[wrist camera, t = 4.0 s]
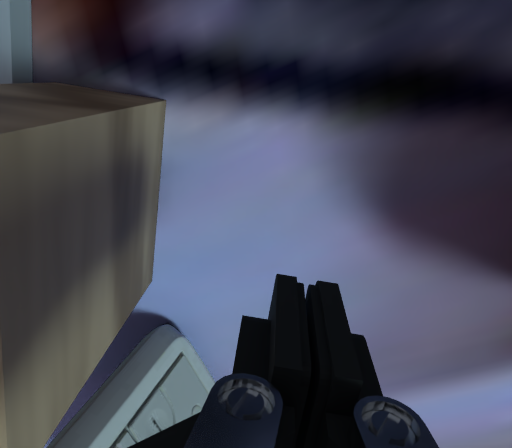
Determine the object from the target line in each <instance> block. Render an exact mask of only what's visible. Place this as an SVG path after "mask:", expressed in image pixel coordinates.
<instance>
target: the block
mask: <svg viewBox="0 0 512 448" xmlns="http://www.w3.org/2000/svg"><path fill="white" fill-rule="evenodd" d="M165 109H166V100H161V99H155V98H149V97H143V96H136V95H130V94H124V93H118V92H112V91H106V90H99V89H93V88H87V87H81V86H75V85H69V84H62V83H56V82H50V83H12V84H0V448H43V447H44V446H45V444H46V443H47V441H48V439H49V438H50V436H51V435H52V433H53V432H54V430H55V429H56V427H57V426H58V424H59V423H60V421H61V420H62V418H63V416H64V415H65V413H66V412H67V410H68V409H69V407H70V406H71V404H72V403H73V401H74V400H75V398H76V397H77V395H78V393H79V392H80V390H81V389H82V387H83V386H84V384H85V383H86V381H87V380H88V378H89V377H90V375H91V374H92V372H93V370H94V369H95V367H96V366H97V364H98V363H99V361H100V360H101V358H102V357H103V355H104V354H105V352H106V351H107V349H108V347H109V346H110V344H111V343H112V341H113V340H114V338H115V337H116V335H117V334H118V332H119V331H120V329H121V328H122V326H123V324H124V323H125V321H126V320H127V318H128V317H129V315H130V314H131V312H132V311H133V309H134V308H135V306H136V305H137V303H138V301H139V300H140V298H141V297H142V295H143V294H144V292H145V291H146V289H147V288H148V286H149V285H150V283H151V282H152V274H153V262H154V249H155V236H156V224H157V211H158V198H159V185H160V173H161V160H162V147H163V134H164V122H165Z"/></svg>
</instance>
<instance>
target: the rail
mask: <svg viewBox="0 0 512 448" xmlns="http://www.w3.org/2000/svg"><path fill="white" fill-rule="evenodd" d="M12 83H33V72H32V26H31V0H0V84H12Z"/></svg>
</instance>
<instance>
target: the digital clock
mask: <svg viewBox="0 0 512 448" xmlns="http://www.w3.org/2000/svg"><path fill="white" fill-rule="evenodd" d="M214 384H215V381H214V380H213V378H212V376H211V375H210V373H209V371H208V370H207V368H206V367H205V365H204V363H203V362H202V360H201V359H200V357H199V355H198V354H197V352H196V351H195V349H194V348H193V346H192V345H191V343H190V342H189V341H188V340H187V339H186V338H185V337H184V336H183V335H182V334H181V333H180V332H179V331H178V330H176V329H175V328H174V327H173V326H171V325H169V324H167V325H162V326H159V327H157V328H155V329H154V330H153V331H151V332H150V333H149V334H147V335H146V336H145V337H144V338H143V339H142V340H141V342H140V343H139V344H138V345H137V346H136V347H135V348H134V349H133V351H132V352H131V353H130V354H129V355H128V356H127V357H126V358H125V360H124V361H123V362H122V363H121V364H120V365H119V366H118V368H117V369H116V370H115V371H114V372H113V373H112V374H111V375H110V377H109V378H108V379H107V380H106V381H105V382H104V383H103V384H102V386H101V387H100V388H99V389H98V390H97V391H96V392H95V393H94V395H93V396H92V397H91V398H90V399H89V400H88V401H87V402H86V404H85V405H84V406H83V407H82V408H81V409H80V410H79V411H78V413H77V414H76V415H75V416H74V417H73V418H72V419H71V420H70V422H69V423H68V424H67V425H66V426H65V427H64V428H63V429H62V431H61V432H60V433H59V434H58V435H57V436H56V437H55V439H54V440H53V441H52V442H51V443H50V444H49V445H48V446H47V448H127V447H129V446H131V445H134V444H136V443H138V442H140V441H142V440H144V439H146V438H148V437H150V436H152V435H154V434H156V433H158V432H160V431H162V430H164V429H166V428H168V427H170V426H172V425H174V424H176V423H178V422H181V421H183V420H185V419H187V418H189V417H191V416H193V415H195V414H197V413H199V412H201V410H202V407H203V405H204V403H205V401H206V399H207V397H208V395H209V392H210V390H211V388H212V387H213V385H214Z"/></svg>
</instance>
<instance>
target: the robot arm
mask: <svg viewBox="0 0 512 448" xmlns="http://www.w3.org/2000/svg"><path fill="white" fill-rule="evenodd" d="M127 448H439V447H438V445H437V443H436V442H435V440H434V438H433V437H432V435H431V433H430V431H429V430H428V428H427V426H426V425H425V423H424V422H423V420H422V419H421V418H420V417H419V415H418V414H416V413H415V412H414V411H413V410H412V409H411V408H409V407H408V406H406V405H404V404H403V403H401V402H399V401H396V400H394V399H391V398H388V397H383V394H382V391H381V388H380V385H379V381H378V378H377V375H376V372H375V369H374V365H373V362H372V359H371V356H370V353H369V349H368V346H367V343H366V340H365V338H364V336H363V335H358V334H352V333H351V332H350V328H349V324H348V320H347V317H346V313H345V309H344V305H343V301H342V297H341V294H340V290H339V286H338V284H336V283H330V282H323V281H317V282H316V285H309V286H308V289H307V294H306V298H305V293H304V284H303V283H297V277H293V276H287V275H281V274H277V275H276V279H275V284H274V290H273V295H272V301H271V306H270V311H269V317H268V320H267V319H261V318H255V317H249V316H243V315H242V321H241V327H240V333H239V338H238V344H237V350H236V356H235V361H234V367H233V373H232V374H231V375H228V376H225V377H223V378H221V379H220V380H218V381H217V382H216V383H215V384H214V385H213V387H212V388H211V390H210V392H209V395H208V397H207V399H206V401H205V403H204V405H203V407H202V410H201V412H199V413H197V414H195V415H193V416H191V417H189V418H187V419H185V420H183V421H181V422H178V423H176V424H174V425H172V426H170V427H168V428H166V429H164V430H162V431H160V432H158V433H156V434H154V435H152V436H150V437H148V438H146V439H144V440H142V441H140V442H138V443H136V444H134V445H131V446H129V447H127Z"/></svg>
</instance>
